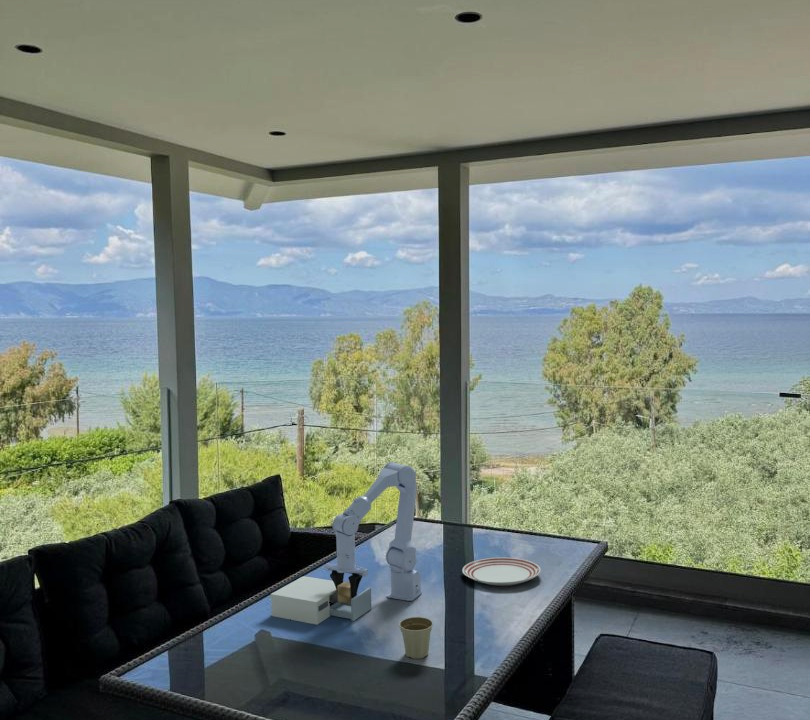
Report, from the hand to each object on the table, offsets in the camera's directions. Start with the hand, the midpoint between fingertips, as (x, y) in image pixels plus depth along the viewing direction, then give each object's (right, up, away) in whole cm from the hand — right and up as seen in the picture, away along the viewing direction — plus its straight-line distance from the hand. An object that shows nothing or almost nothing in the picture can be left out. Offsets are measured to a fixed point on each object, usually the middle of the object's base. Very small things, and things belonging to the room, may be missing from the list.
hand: (347, 595), depth 242 cm
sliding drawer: (0, -5, +1) cm, 5 cm away
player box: (-12, -6, +3) cm, 13 cm away
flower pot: (+21, -7, -31) cm, 38 cm away
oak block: (0, -2, 0) cm, 2 cm away
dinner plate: (+52, -3, +30) cm, 60 cm away
